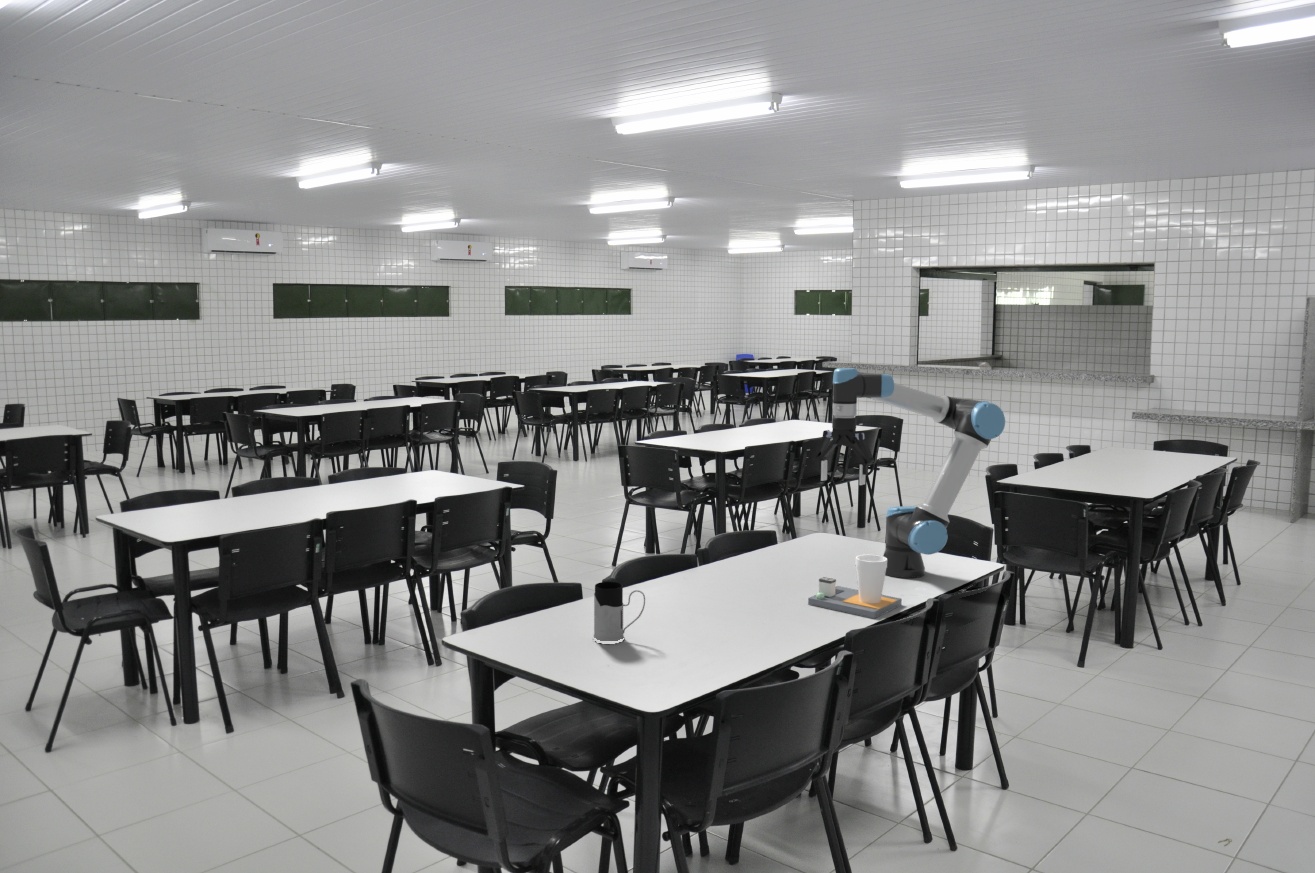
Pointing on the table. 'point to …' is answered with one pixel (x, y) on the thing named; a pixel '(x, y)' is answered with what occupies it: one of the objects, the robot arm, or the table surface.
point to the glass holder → (610, 611)
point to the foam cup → (870, 577)
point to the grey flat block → (854, 603)
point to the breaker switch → (827, 586)
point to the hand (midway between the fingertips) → (842, 482)
